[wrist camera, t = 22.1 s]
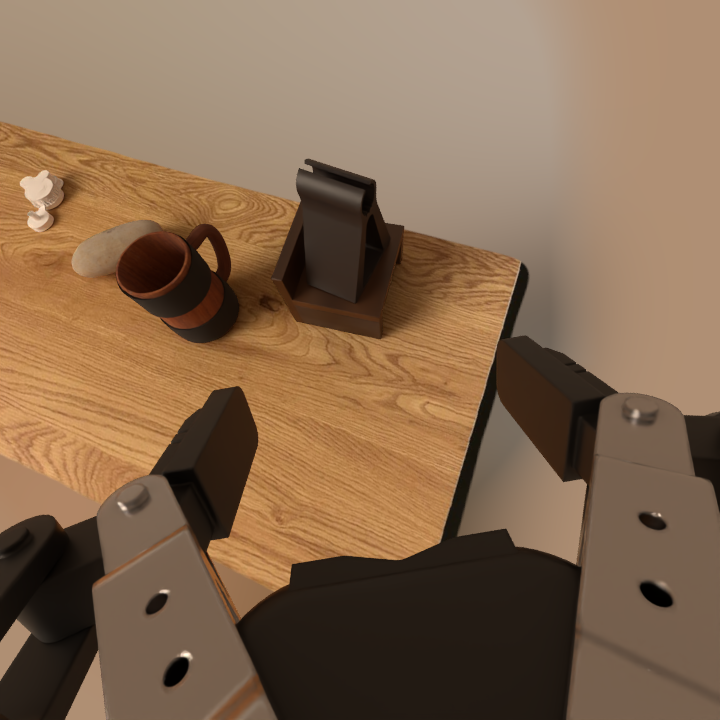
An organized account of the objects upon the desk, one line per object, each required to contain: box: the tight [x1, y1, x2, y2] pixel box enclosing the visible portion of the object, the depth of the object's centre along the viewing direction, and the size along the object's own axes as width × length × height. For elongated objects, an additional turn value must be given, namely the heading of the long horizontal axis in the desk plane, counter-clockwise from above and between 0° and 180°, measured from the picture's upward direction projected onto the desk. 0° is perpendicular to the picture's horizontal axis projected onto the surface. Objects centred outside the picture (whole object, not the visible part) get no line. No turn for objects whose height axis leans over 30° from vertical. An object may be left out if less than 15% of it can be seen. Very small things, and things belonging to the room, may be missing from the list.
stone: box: [72, 220, 163, 278], centre depth 47 cm, size 6×6×12 cm
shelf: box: [271, 202, 404, 339], centre depth 40 cm, size 11×12×10 cm
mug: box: [116, 224, 239, 343], centre depth 40 cm, size 9×12×12 cm
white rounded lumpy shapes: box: [20, 159, 64, 232], centre depth 53 cm, size 9×9×2 cm
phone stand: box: [296, 159, 391, 304], centre depth 33 cm, size 9×6×12 cm, turn 153°
